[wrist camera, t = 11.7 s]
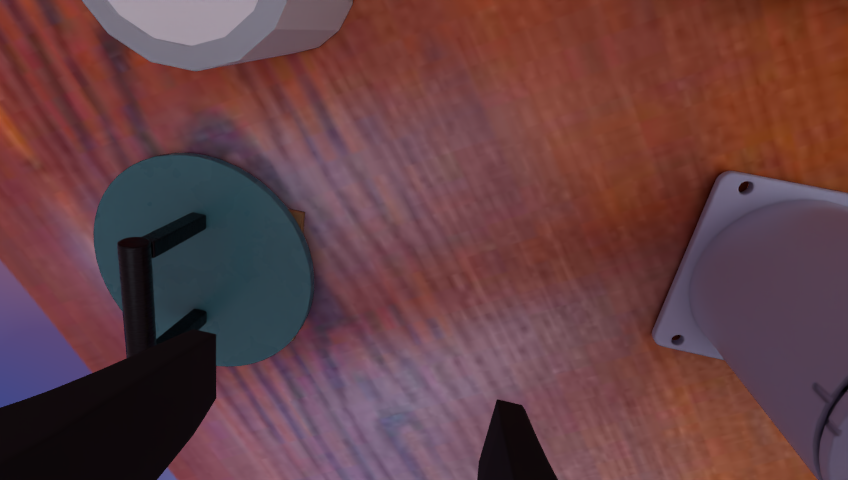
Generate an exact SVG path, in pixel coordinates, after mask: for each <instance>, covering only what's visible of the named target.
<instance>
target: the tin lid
mask: <svg viewBox="0 0 848 480" xmlns="http://www.w3.org/2000/svg"><path fill="white" fill-rule="evenodd" d="M94 248H95V253H96V259H97V263H98V266H99V269H100V273H101V275H102V277H103V280H104V282H105V284H106V286H107V288H108V290H109V292H110V294H111V295H112V297H113V299H114V300H115V302H116V303H117V305H118V306H119V307H120V309H121V310H122V311H123V320H124V332H125V343H126V355H127V358H129V357H131V356H133V355H135V354H138V353H140V352H142V351H144V350H147V349H149V348H151V347H153V346H155V345H158V344H160V343H162V342H164V341H166V340H169V339H171V338H173V337H175V336H178V335H180V334H182V333H185V332H187V331H190V330H192V329H196V330H200V331H204V332H209V333H213V334H216V366H227V367H228V366H242V365H248V364H253V363H256V362H259V361H262V360H264V359H267V358H269V357H271V356H273V355H275V354H276V353H277V352H279V351H280V350H282V349H283V348H284V347H285V346H286V345H287V344H288V343H289V342H291V341H292V339H293V338H294V337H295V335H296V334H297V333H298V331H299V330H300V329H301V327H302V326H303V324H304V322H305V320H306V318H307V316H308V314H309V311H310V308H311V305H312V300H313V294H314V270H313V262H312V258H311V254H310V250H309V247H308V245H307V242H306V240H305V237H304V234H303V233H302V231H301V229H300V227H299V225H298V223H297V221H296V220H295V218H294V217H293V215H292V214H291V213H290V211H289V210H288V208H287V207H286V206H285V205H284V204H283V202H282V201H281V200H280V199H279V198H278V197H277V196H276V195H275V194H274V193H273V192H272V191H271V190H270V189H269V188H268V187H267V186H266V185H265V184H263V183H262V182H261V181H259V180H258V179H256V178H255V177H254V176H252V175H251V174H249V173H248V172H246V171H244V170H242V169H241V168H239V167H237V166H235V165H233V164H230V163H228V162H225V161H223V160H221V159H217V158H214V157H210V156H206V155H201V154H194V153H171V154H164V155H159V156H155V157H152V158H149V159H145V160H142V161H140V162H138V163H136V164H134V165H132V166H130V167H129V168H127V169H126V170H125V171H123V172H122V173H121V174H119V175H118V176H117V177H116V179H115V180H114V181H113V182H112V183H111V184H110V185H109V187H108V188H107V190H106V191H105V193H104V194H103V197H102V199H101V201H100V203H99V206H98V209H97V213H96V217H95V223H94Z"/></svg>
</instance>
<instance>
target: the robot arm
mask: <svg viewBox="0 0 848 480" xmlns="http://www.w3.org/2000/svg"><path fill="white" fill-rule="evenodd" d="M745 181H748V183H749V184H748V187H747V189H746V190H744V191H743V192H739V190H738V189H739V186H740V184H741V183H743V182H745ZM675 335H681V337H680V338H679V339H677V340H672V338H673V336H675ZM652 337H653V339H654V341H655V342H656V343H657V344H658V345H660V346H663V347H667V348H672V349H676V350H681V351H685V352H690V353H694V354H699V355H703V356H708V357H712V358H717V359H721V360H725V361H726V363H727V364H728V365H729V366H730V368H731V369H732V370H733V371H734V373H735V374H736V375H737V377H738V378H739V379H740V380H741V382H742V383H743V384H744V386H745V387H746V388H747V389H748V391H749V392H750V393H751V395H752V396H753V397H754V398H755V400H756V401H757V402H758V404H759V405H760V406H761V407H762V409H763V410H764V411H765V413H766V414H767V415H768V416H769V418H770V419H771V420H772V422H773V423H774V424H775V425H776V427H777V428H778V429H779V431H780V432H781V433H782V434H783V436H784V437H785V438H786V439H787V441H788V442H789V443H790V445H791V446H792V447H793V448H794V450H795V451H796V452H797V454H798V455H799V456H800V457H801V459H802V460H803V461H804V463H805V464H806V465H807V466H808V468H809V469H810V470H811V472H812V473H813V474H814V475H815V477H816V478H817V479H818V480H848V193H846V192H841V191H836V190H830V189H825V188H820V187H815V186H810V185H805V184H799V183H794V182H789V181H784V180H779V179H774V178H768V177H763V176H758V175H753V174H748V173H743V172H737V171H726V172H723V173H722V174H720V175H719V176H718V177H717V179H716V180H715V183H714V185H713V187H712V190H711V192H710V195H709V197H708V199H707V202H706V204H705V207H704V209H703V211H702V214H701V216H700V218H699V221H698V223H697V226H696V228H695V230H694V233H693V235H692V238H691V240H690V242H689V245H688V247H687V249H686V252H685V254H684V257H683V259H682V261H681V264H680V266H679V268H678V271H677V273H676V276H675V278H674V280H673V283H672V285H671V288H670V290H669V292H668V295H667V297H666V299H665V302H664V304H663V307H662V309H661V311H660V314H659V316H658V318H657V321H656V323H655V326H654V328H653V330H652ZM215 399H216V334H213V333H209V332H204V331H200V330H196V329H192V330H190V331H187V332H185V333H182V334H180V335H178V336H175V337H173V338H171V339H169V340H166V341H164V342H162V343H160V344H158V345H155V346H153V347H151V348H149V349H147V350H144V351H142V352H140V353H138V354H135V355H133V356H131V357H129V358H127V359H124V360H122V361H120V362H118V363H115V364H113V365H111V366H109V367H106V368H104V369H102V370H99V371H97V372H94V373H92V374H89V375H87V376H85V377H82V378H80V379H77V380H75V381H72V382H70V383H68V384H65V385H62V386H60V387H58V388H55V389H52V390H50V391H47V392H45V393H42V394H39V395H36V396H33V397H31V398H28V399H25V400H22V401H19V402H16V403H13V404H10V405H7V406H4V407H1V408H0V480H157V479H158V478H159V476H160V475H161V474H162V473H163V472H164V470H165V469H166V468H167V467H168V466H169V464H170V463H171V462H172V461H173V459H174V458H175V457H176V456H177V454H178V453H179V452H180V451H181V449H182V448H183V447H184V446H185V444H186V443H187V442H188V441H189V439H190V438H191V437H192V436H193V434H194V433H195V431H196V430H197V428H198V427H199V425H200V424H201V422H202V420H203V419H204V417H205V416H206V414H207V412H208V411H209V409H210V407H211V406H212V404H213V403H214V401H215ZM477 480H558V479H557V477H556V475H555V473H554V471H553V469H552V468H551V466H550V464H549V462H548V460H547V458H546V456H545V454H544V451H543V449H542V447H541V445H540V443H539V441H538V439H537V436H536V434H535V432H534V430H533V427H532V425H531V423H530V420H529V418H528V416H527V413H526V411H525V409H524V407H523V406H522V405H519V404H515V403H511V402H506V401H502V400H498V399H497V401H496V405H495V408H494V412H493V415H492V419H491V422H490V426H489V429H488V432H487V436H486V439H485V443H484V446H483V450H482V453H481V457H480V460H479V468H478V479H477Z"/></svg>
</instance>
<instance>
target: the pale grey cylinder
mask: <svg viewBox="0 0 848 480" xmlns="http://www.w3.org/2000/svg"><path fill="white" fill-rule="evenodd" d="M82 1H83V2H84V4H85V5H86V6H87V7H88V9H89V10H90V11H91V12H92V14H93V15H94V16H95V18H96V19H97V20H98V21H99V23H100V24H101V25H102V26H103V28H104V29H105V30H106V32H107V33H108V34H110V35H111V36H113V37H114V38H116V39H117V40H119V41H120V42H122V43H123V44H125V45H126V46H128V47H129V48H131V49H132V50H134V51H135V52H137V53H138V54H140V55H141V56H143V57H144V58H146V59H147V60H149V61H150V62H154V63H159V64H164V65H168V66H173V67H178V68H183V69H187V70H192V71H200V70H206V69H211V68H217V67H222V66H228V65H233V64H239V63H244V62H250V61H255V60H260V59H266V58H271V57H277V56H282V55H288V54H293V53H297V52H302V51H306V50H310V49H314V48H318V47H320V46H321V45H322V44H323V43H324V42H326V41H327V40H328V39H329V38H330V37H332V36H333V35H334V34H335V33H337V32H338V31H339V30H340V28H341V26H342V24H343V22H344V20H345V18H346V16H347V14H348V12H349V10H350V8H351V6H352V4H353V0H82Z"/></svg>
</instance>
